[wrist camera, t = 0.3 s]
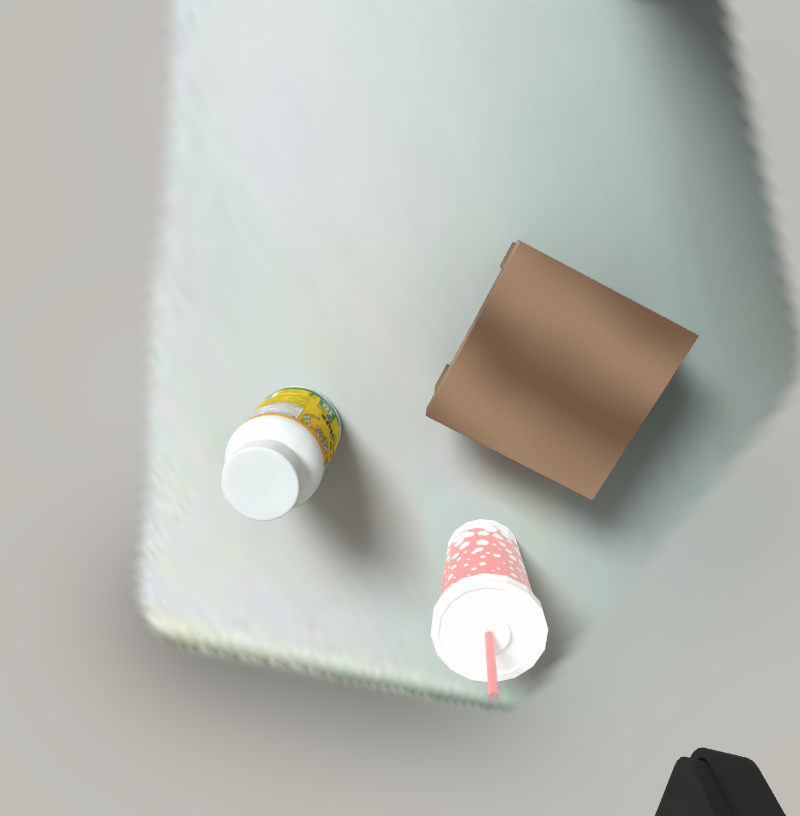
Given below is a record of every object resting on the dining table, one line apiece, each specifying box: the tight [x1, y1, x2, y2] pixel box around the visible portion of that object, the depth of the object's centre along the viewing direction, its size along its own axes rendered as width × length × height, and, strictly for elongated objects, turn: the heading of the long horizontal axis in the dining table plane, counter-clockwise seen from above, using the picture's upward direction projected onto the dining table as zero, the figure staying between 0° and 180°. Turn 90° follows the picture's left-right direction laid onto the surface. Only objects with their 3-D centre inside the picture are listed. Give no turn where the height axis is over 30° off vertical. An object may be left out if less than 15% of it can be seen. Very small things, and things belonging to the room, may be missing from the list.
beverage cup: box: [431, 519, 548, 701], centre depth 39 cm, size 6×6×14 cm
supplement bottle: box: [221, 386, 341, 521], centre depth 40 cm, size 5×5×10 cm
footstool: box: [426, 240, 698, 500], centre depth 39 cm, size 10×10×6 cm
